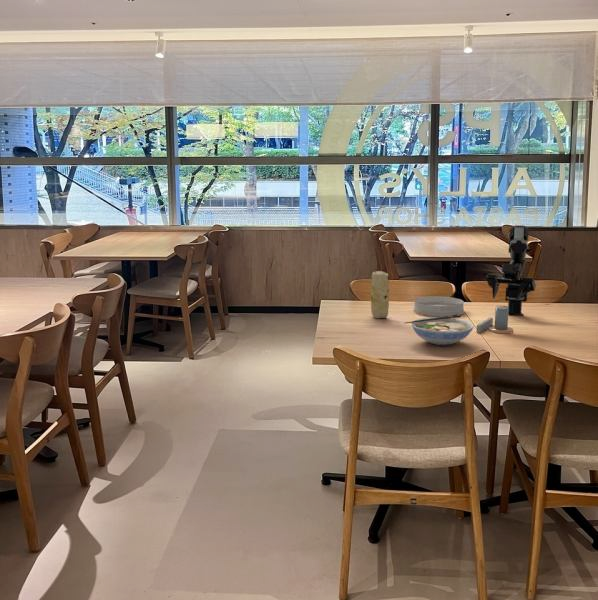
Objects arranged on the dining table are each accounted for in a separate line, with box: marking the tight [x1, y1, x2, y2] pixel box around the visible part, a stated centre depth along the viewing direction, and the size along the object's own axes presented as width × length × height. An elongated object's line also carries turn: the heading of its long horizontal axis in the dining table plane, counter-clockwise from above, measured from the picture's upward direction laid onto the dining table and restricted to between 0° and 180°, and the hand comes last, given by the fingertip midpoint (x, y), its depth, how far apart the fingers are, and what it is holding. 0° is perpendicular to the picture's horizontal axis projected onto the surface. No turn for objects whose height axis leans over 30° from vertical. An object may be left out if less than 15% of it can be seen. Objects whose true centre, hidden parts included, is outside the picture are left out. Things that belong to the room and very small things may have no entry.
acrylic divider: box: [476, 317, 494, 334], centre depth 272 cm, size 16×1×3 cm, turn 146°
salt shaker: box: [494, 305, 509, 330], centre depth 268 cm, size 5×5×9 cm
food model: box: [370, 270, 390, 319], centre depth 293 cm, size 10×7×20 cm
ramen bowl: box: [404, 314, 475, 347], centre depth 250 cm, size 25×23×8 cm
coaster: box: [488, 325, 514, 334], centre depth 269 cm, size 9×9×1 cm
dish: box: [413, 295, 465, 317], centre depth 305 cm, size 22×22×5 cm
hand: (504, 299), depth 269 cm, fingers open, 9 cm apart
